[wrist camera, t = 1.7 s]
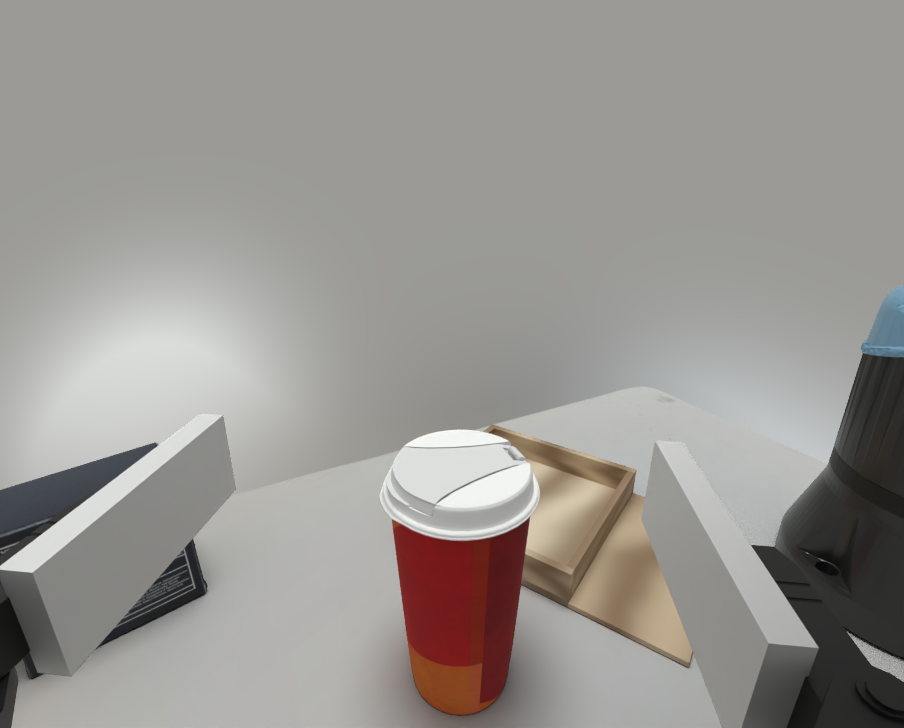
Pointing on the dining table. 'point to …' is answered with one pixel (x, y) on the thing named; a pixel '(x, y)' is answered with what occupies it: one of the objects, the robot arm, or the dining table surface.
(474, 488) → the coffee cup
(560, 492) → the box
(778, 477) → the dining table surface
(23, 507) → the small box
